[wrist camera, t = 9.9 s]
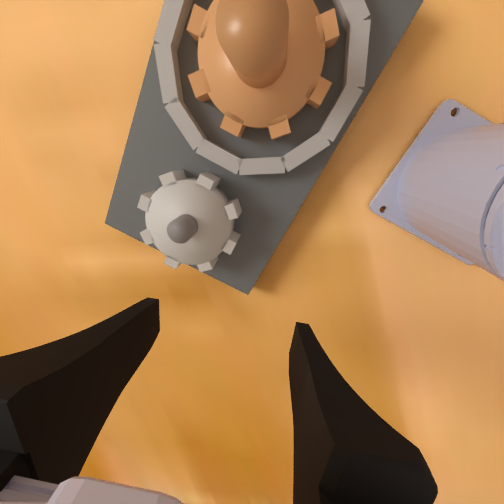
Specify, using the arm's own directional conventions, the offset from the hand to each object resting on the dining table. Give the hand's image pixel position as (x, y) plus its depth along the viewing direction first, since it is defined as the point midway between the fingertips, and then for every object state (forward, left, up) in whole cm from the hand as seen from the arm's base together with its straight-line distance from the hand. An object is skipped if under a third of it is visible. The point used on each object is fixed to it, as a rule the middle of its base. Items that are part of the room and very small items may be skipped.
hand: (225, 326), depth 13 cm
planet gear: (+5, -12, -8) cm, 15 cm away
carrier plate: (+5, -8, -9) cm, 13 cm away
